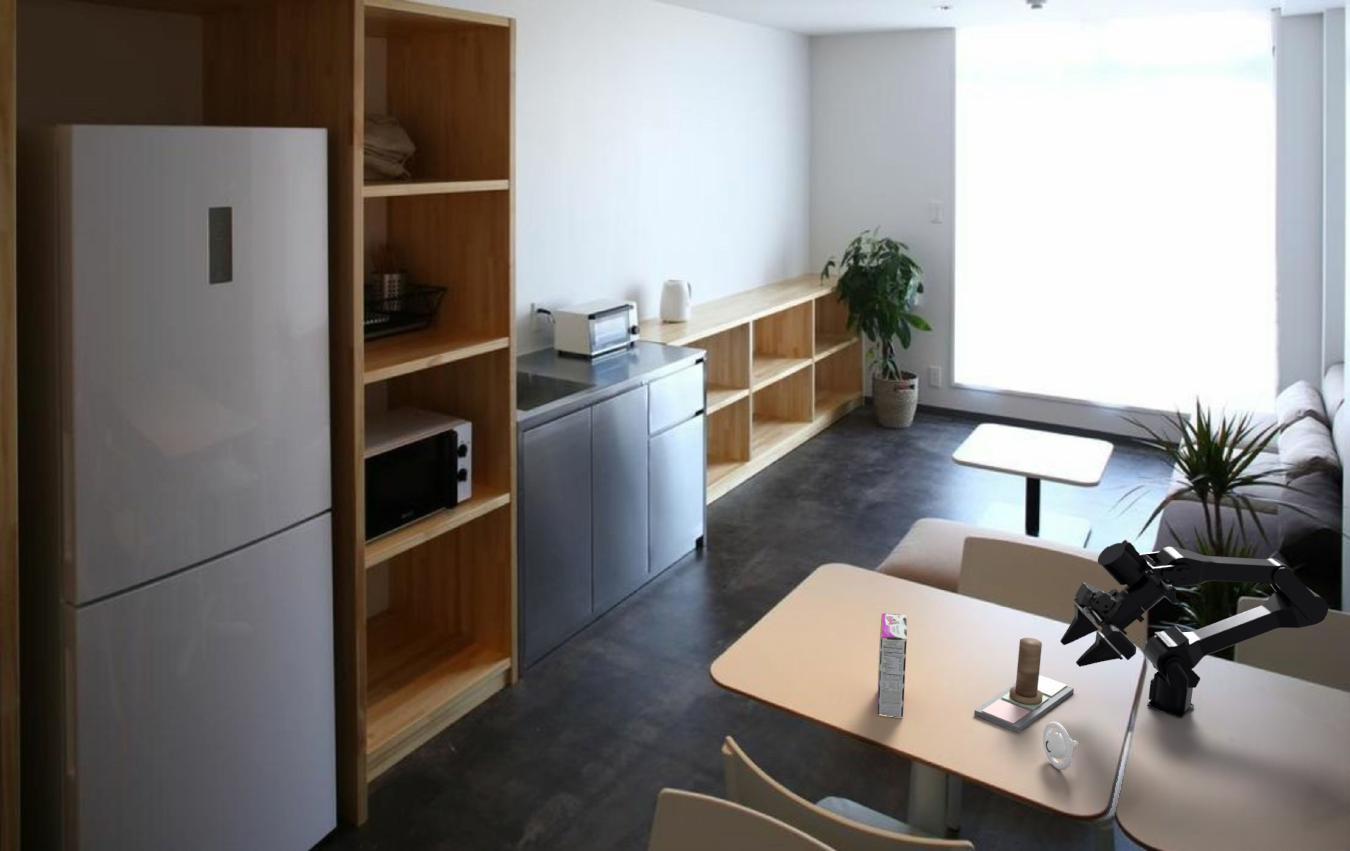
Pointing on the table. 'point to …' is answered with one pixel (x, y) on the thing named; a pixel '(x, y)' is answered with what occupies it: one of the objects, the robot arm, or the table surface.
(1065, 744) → the ring around a ball
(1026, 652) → the brown wooden peg
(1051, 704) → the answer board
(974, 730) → the table surface
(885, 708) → the candy bar box
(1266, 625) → the robot arm
